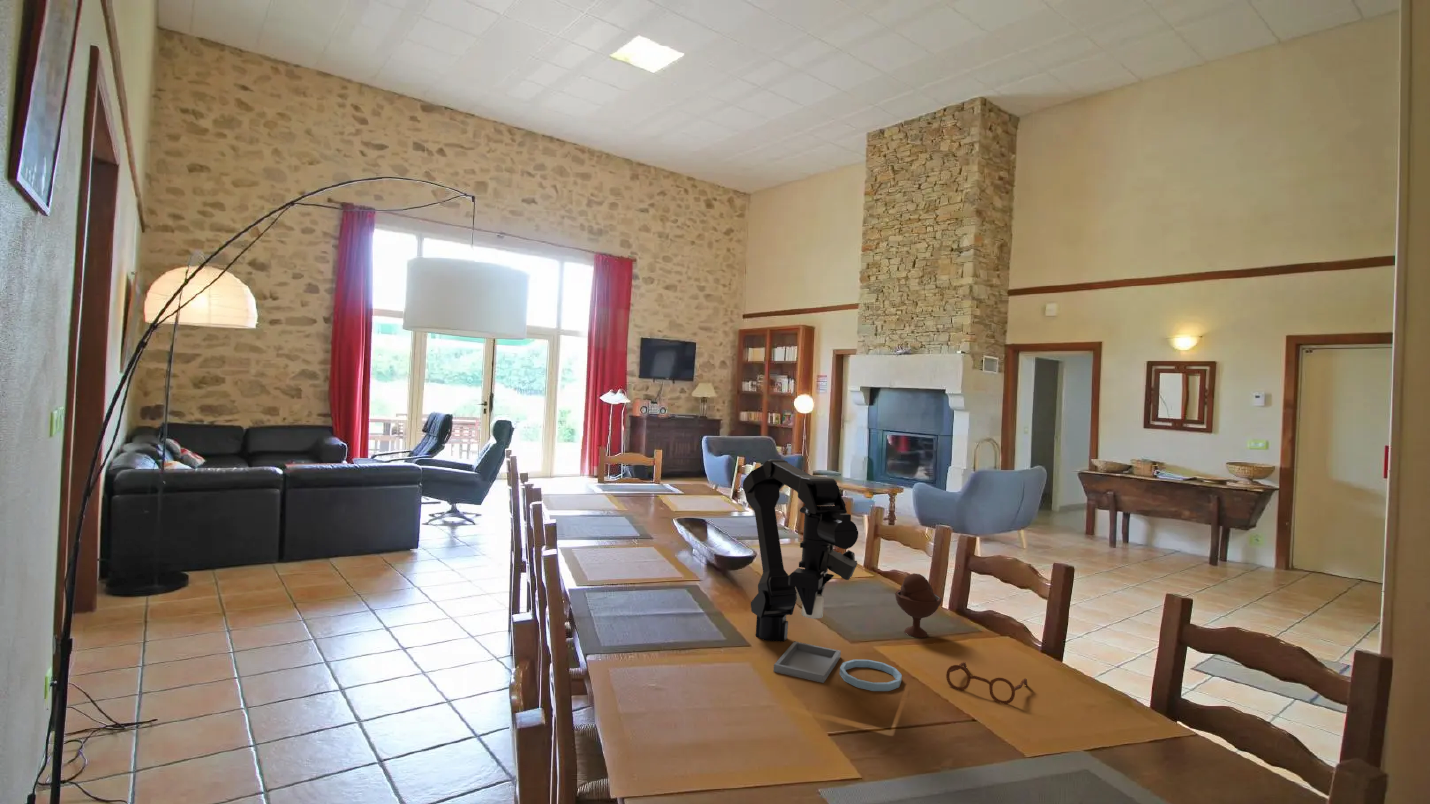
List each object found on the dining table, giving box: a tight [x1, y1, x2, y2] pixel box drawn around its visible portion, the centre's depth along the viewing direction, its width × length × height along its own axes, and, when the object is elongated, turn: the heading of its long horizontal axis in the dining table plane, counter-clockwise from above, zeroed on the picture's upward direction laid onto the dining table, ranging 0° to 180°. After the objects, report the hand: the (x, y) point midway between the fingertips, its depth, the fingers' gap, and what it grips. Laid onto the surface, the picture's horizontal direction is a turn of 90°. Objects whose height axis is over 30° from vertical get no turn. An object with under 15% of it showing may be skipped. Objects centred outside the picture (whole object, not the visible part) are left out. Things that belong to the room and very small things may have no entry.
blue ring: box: [839, 658, 903, 692], centre depth 139 cm, size 12×12×2 cm
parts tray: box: [773, 641, 842, 684], centre depth 144 cm, size 10×15×2 cm
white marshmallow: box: [801, 594, 825, 619], centre depth 144 cm, size 4×4×4 cm
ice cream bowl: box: [894, 573, 942, 638], centre depth 169 cm, size 11×11×15 cm
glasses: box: [945, 661, 1028, 705], centre depth 141 cm, size 13×13×5 cm
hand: (812, 611), depth 144 cm, fingers closed on white marshmallow, 4 cm apart
